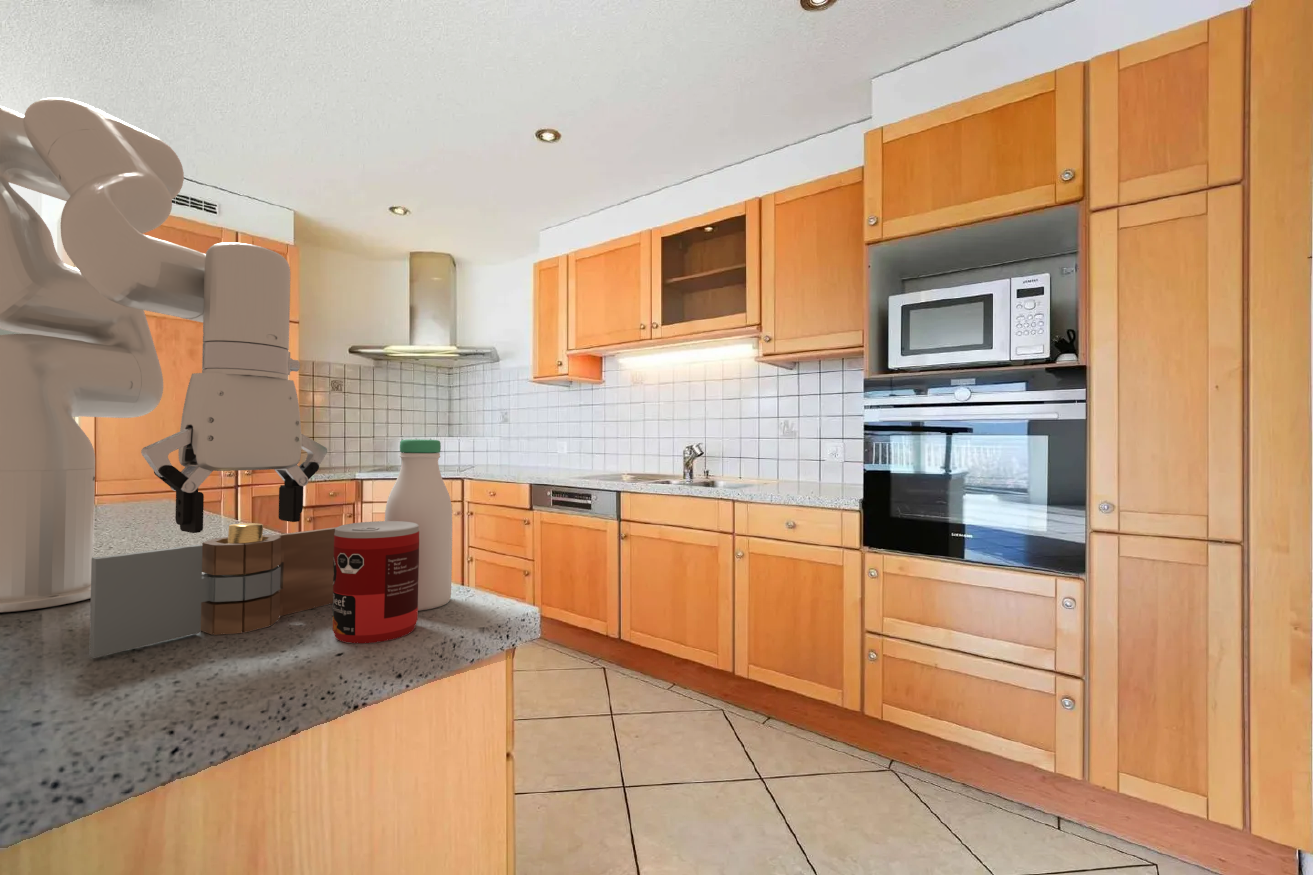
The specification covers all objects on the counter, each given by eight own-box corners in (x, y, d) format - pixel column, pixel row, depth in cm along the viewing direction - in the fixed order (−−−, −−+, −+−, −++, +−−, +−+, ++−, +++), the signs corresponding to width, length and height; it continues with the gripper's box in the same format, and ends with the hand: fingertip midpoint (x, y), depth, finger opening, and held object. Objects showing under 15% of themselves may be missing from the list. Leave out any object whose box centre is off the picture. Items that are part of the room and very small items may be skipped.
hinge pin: (216, 624, 61) (223, 524, 61) (247, 618, 63) (254, 522, 64) (230, 630, 59) (237, 527, 60) (262, 623, 62) (268, 525, 62)
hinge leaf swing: (77, 649, 53) (80, 554, 53) (258, 609, 66) (259, 532, 66) (106, 664, 50) (108, 562, 50) (289, 618, 63) (291, 538, 63)
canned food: (335, 625, 62) (337, 522, 62) (415, 617, 65) (417, 519, 65) (328, 649, 55) (330, 533, 55) (419, 638, 58) (421, 529, 58)
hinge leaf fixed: (191, 627, 60) (193, 540, 60) (338, 593, 74) (339, 523, 74) (222, 638, 57) (224, 547, 57) (369, 601, 71) (370, 527, 71)
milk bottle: (462, 604, 70) (465, 440, 70) (396, 617, 65) (400, 439, 65) (435, 592, 76) (438, 439, 76) (372, 602, 70) (376, 438, 70)
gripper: (308, 374, 71) (306, 514, 71) (127, 355, 56) (123, 533, 56) (345, 372, 67) (342, 519, 67) (162, 350, 52) (158, 541, 52)
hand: (243, 525), depth 62 cm, fingers open, 9 cm apart
